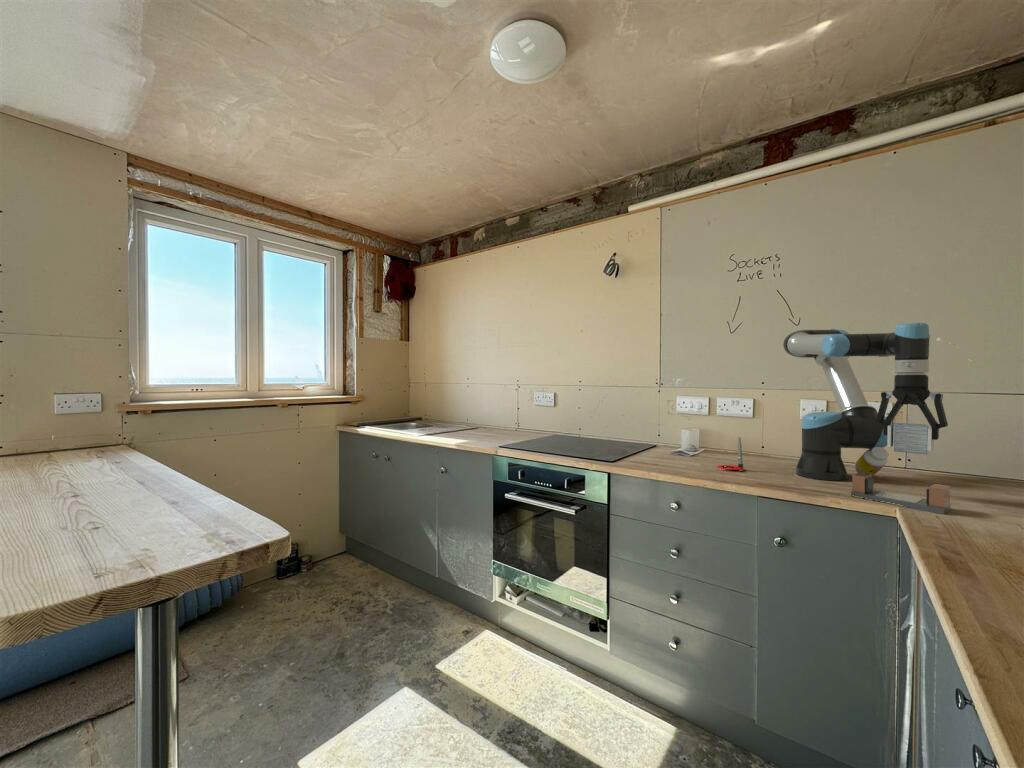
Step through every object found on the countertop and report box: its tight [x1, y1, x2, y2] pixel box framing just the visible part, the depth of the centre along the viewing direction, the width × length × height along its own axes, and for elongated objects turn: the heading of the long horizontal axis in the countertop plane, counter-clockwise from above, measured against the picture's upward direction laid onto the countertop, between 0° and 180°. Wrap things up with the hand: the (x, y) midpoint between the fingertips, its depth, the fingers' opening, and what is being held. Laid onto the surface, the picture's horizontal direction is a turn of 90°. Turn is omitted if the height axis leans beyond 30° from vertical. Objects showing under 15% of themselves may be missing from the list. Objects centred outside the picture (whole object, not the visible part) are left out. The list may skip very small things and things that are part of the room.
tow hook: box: [716, 436, 744, 472], centre depth 166 cm, size 8×13×9 cm
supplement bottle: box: [853, 447, 889, 477], centre depth 150 cm, size 7×7×13 cm
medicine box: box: [892, 422, 930, 455], centre depth 130 cm, size 8×4×9 cm, turn 48°
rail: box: [850, 472, 952, 515], centre depth 122 cm, size 20×8×6 cm, turn 34°
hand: (909, 448), depth 129 cm, fingers closed on medicine box, 8 cm apart
